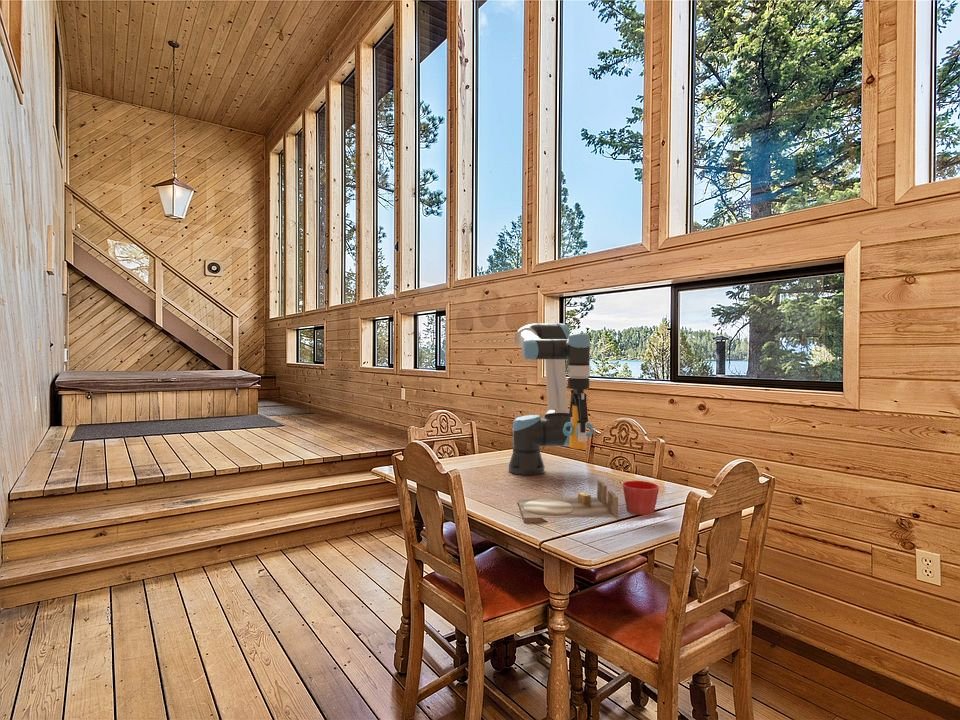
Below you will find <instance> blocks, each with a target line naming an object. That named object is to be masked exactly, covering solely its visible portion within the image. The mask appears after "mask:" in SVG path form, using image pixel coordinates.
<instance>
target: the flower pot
mask: <svg viewBox="0 0 960 720" xmlns="http://www.w3.org/2000/svg"><path fill="white" fill-rule="evenodd" d="M622 487H623V488H622V489H623V495H624V501H625V502H624V503H625V507H626V511H627V512H629V513H632V514H635V515H645V516H646V515H648V516H649V515H653V514H654V513H655V509H656V506H657V500H658V495H659V490H660V489H659V488H660V486H659V485H658V484H657V483H654V482H651V481H650V482H649V481H643V480H628V481H624V482H622ZM647 519H649V518H647Z"/></svg>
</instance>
